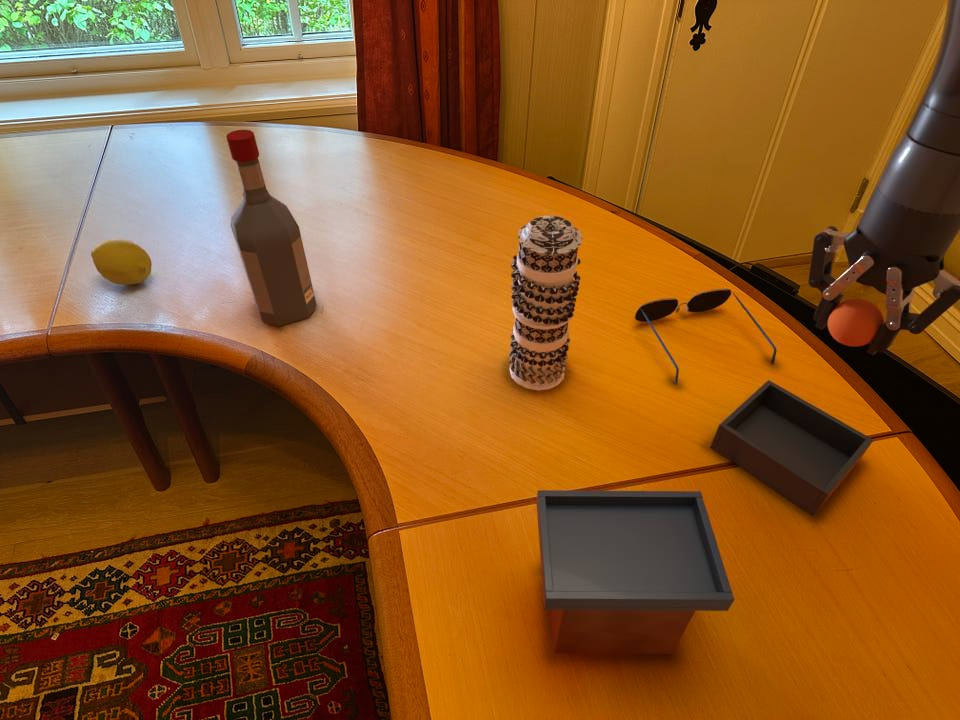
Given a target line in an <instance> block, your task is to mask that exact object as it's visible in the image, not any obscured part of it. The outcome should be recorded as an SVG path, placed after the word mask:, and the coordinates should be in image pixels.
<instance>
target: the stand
mask: <svg viewBox="0 0 960 720" xmlns="http://www.w3.org/2000/svg"><path fill="white" fill-rule="evenodd" d="M695 613H696V611H661V610H550V616H551V628H552V629H551V630H552V644H553V653H554V654H583V655H584V654H589V655H591V654H593V655H596V654H599V655H601V654H603V655H605V654H606V655H607V654H608V655H613V654H614V655H673V653H674V651H675V650H676V647H677V646H678V644H679V642H680V640H681V639H682V637H683V635H684V633H685V631H686V629H687V628H688V626H689V624H690V622H691V621H692V619H693V616H694V615H695Z"/></svg>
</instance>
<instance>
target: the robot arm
mask: <svg viewBox="0 0 960 720" xmlns="http://www.w3.org/2000/svg"><path fill="white" fill-rule="evenodd" d="M946 2H947V4H946V9H945V10H946V11H945V17H944V23H943V28H942V32H941V33H942V34H941V39H940V42H939V46H938V51H937V55H936V58H935V61H934V65H933V69H932V72H931V76H930V78H929V81H928V83H927V86H926V88H925V89H924V92H923V94H922V97H921V99H920V100H919V103H918V105H917V106H916V109H915V111H914V112H913V116H912V117H911V119H910V121H909V123H908V126H907V128H906V129H905V131H904V134H903V136H902V137H901V139H900V140H899V142H898V144H897V145H896V146H895V147H894V149H893V151H892V153H891V155H890V156H889V158H888V160H887V162H886V165H885V167H884V169H883V171H882V173H881V175H880V177H879V180H878V181H877V184H876V186H875V188H874V190H873V192H872V194H871V196H870V198H869V200H868V202H867V205H866V207H865V209H864V211H863V212H862V215H861V217H860V219H859V221H858V223H857V226H856V227H855V229H854V230H852V232H844V231H839V230H838V228H837V227H836V226H833V225H830V226H827V227H826V228H825V229H823V230H822V231H820V232H819V233H817V234H816V235H815V236H814V238H813V246H812V251H811V252H812V253H811V260H810V267H809V274H808V280H807V283H808V285H809V286H810V287H811V288H813V289H817V290H818V291H820V293H821V299H820V301H819V303H818V305H817V307H816V309H815V311H814V314H813V321H815V322H816V324H815V328H817V329H819V330H823V329H824V328H826V327H828V317H829V315H830V313H831V311H832V310H833V309H834V307H836V306H837V305H838V304H839V303H841V302H842V299H843V298H844V295H843V294H842V293H843V292H844V291H845V290H846V289H848V287H850V286H851V285H852V284H853V283H857V284H860V285H863V286H867V287H872V288H874V289H875V290H876V291H877V292H878V293H881V294H883V295H885V304H884V307H885V309H886V317H885V321H884V324H883V325H882V326H881V327H880V329H879V331H878V332H877V334H876V336H875V338H874V339H873V341H872V342H870V344H869V347H868V348H867V350H866V353H867V354H869V355H872V356H875V355H876V353H880V354H882V353H884V352H886V351H887V350H888V349H889V348H890V347H891V346H892V345H893V343H894V341H895V340H896V338H897V336H898V335H899V333H900V331H908V332H909V333H911V334H913V335H919V334H921V333H922V332H923V331H925V330H926V329H927V328H928V327H929V326H930V325H932V324H933V323H934V322H935V321H937V319H939V318H940V317H941V316H942V315H944V313H946V312H947V311H948V310H949V309H950V308H951V307H953V306H954V305H955V304H956V303H957V302H958V301H960V278H959V279H958V278H956V277H955V276H953V275H952V274H951V273H949V272H947V271H946V270H944V269H945V256H946V254H947V252H948V251H949V248H950V247H951V245H952V244H953V243H954V240H955V239H956V237H957V235H958V234H959V232H960V0H947V1H946ZM842 246H843V247H844V252H845V254H846V258H847V263H848V265H849V268H848V269H847V270H846V271H844V273H842V274H841V275H840V276H839V277H838V278H837V279H836V278H834V277H833V276H832V273H833V272H832V271H833V265H834V259H835V253H836V252H838V251H839V250H840V249H841V248H842ZM930 282H933V283H934V288H933V290H932V296H933V298H934V300H933V301H932V303H930V304H929V305H927V307H926V308H925V309H924V310H922V311H921V312H920V313H915V312H911V309H912V301H913V299H914V296H915V288H917V287H919V286H923V285H925V284H927V283H930Z"/></svg>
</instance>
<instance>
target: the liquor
mask: <svg viewBox="0 0 960 720" xmlns="http://www.w3.org/2000/svg"><path fill="white" fill-rule="evenodd" d="M226 142H227V145H228V148H229V152H230V157H231V159H232V160H233V161H234V162H235V165H236V169H237V172H238V176H239V179H240V183H241V186H242V196H243V199H242V201H241V203H240V204H239V206H237V208H236V210H235V211H234V213H233V215H232V216H231V217H230V228H231V231H232V234H233V238H234V240H235V243H236V247H237V250H238V253H239V257H240V260H241V263H242V266H243V269H244V272H245V276H246V279H247V282H248V285H249V289H250V291H251V295H252V298H253V301H254V305H255V307H256V309H257V311H258V314H259V317H260V319H261V321H262V322H263V323H265V324H267V325H272V326H276V327H281V326H284V325H288V324H291V323H296V322H298V321H302V320H305V319H308V318H309V317H310V316H311V315H312V313H313V312H314V311H315V309H316V307H317V301H316V297H315V292H314V286H313V283H312V277H311V274H310V269H309V265H308V261H307V257H306V252H305V247H304V243H303V239H302V235H301V231H300V226H299V224H298V223H297V220H296V219H295V218H294V215H293V214H292V212H291V211H290V209H289V207H288V206H287V205H286V204H285V203H283V202H282V201H280V200H278V199H277V198H275V197H274V196H272V195H271V194H270V192H269V190H268V189H267V186H266V183H265V178H264V174H263V171H262V168H261V164H260V159H259V157H260V151H259V148H258V144H257V140H256V136H255V133H254V131H252V130H251V129H237V130H233V131H230V132H229V133H227V134H226Z"/></svg>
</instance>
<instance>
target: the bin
mask: <svg viewBox="0 0 960 720" xmlns="http://www.w3.org/2000/svg"><path fill="white" fill-rule="evenodd" d="M873 442H874V439H873V438H872V437H870V436H868V435H866V434H864V433H863V432H861V431H859V430H858V429H855V428H854V427H852V426H850V425H848V424H847V423H845V422H843V421H842V420H839V419H838V418H836V417H835V416H833V415H831V414H829V413H827V412H826V411H825V410H822V409H821V408H819V407H817V406H816V405H813V404H812V403H810V402H808V401H806V400H805V399H803V398H802V397H800V396H798V395H796V394H795V393H793V392H791V391H789V390H787V389H786V388H783V387H782V386H780V385H778V384H777V383H775V382H773V381H771V380H770V379H768V380H767V381H766V382H764V383H763V384H762V385H761V386H760V387H759V388H757V390H755V391H754V392H753V393H752V394H751V395H750V396H748V398H747V399H745V400H744V401H743V402H742V403H741V404H740V405H739V406H738V407H736V409H734V410H733V411H732V412H731V413H730V414H729V415H728V416H727V417H726V418H724V420H722V421H721V422H720V423H719V425H718V427H717V429H716V432H715V434H714V437H713V439H712V441H711V443H710V446H709V447H710V448H711V449H713V450H714V451H716V452H717V453H718V454H720V455H721V456H723V457H724V458H725V459H727V460H729V461H730V462H732V464H735V465H736V466H738V467H739V468H741V469H742V470H744V471H745V472H747V473H748V474H750V475H751V476H753V477H754V478H755V479H757V480H758V481H760V482H762V483H763V484H765V486H767V487H768V488H771V490H773V491H775V492H776V493H778V494H779V495H780V496H782V497H784V498H785V499H786V500H788V501H790V502H791V503H793V504H794V505H796V506H797V507H798V508H800V509H802V510H803V511H805V512H806V513H808V514H809V515H811V516H812V517H814V516H816V514H817V513H818V512H819V511H820V509H821V508H822V507H823V506H824V505H825V503H826V502H827V501H828V500H829V499H830V497H831V496H832V495H833V493H834V492H835V491H836V490H837V489H838V488H839V486H841V484H842V483H843V482H844V480H845V479H846V478H847V477H848V476H849V474H850V473H851V472H852V471H853V470H854V468H855V467H856V466H857V464H859V462H860V461H861V459H862V458H863V456H864V454H866V452H867V451H868V449H869V448H870V446H871V445H872V443H873Z"/></svg>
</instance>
